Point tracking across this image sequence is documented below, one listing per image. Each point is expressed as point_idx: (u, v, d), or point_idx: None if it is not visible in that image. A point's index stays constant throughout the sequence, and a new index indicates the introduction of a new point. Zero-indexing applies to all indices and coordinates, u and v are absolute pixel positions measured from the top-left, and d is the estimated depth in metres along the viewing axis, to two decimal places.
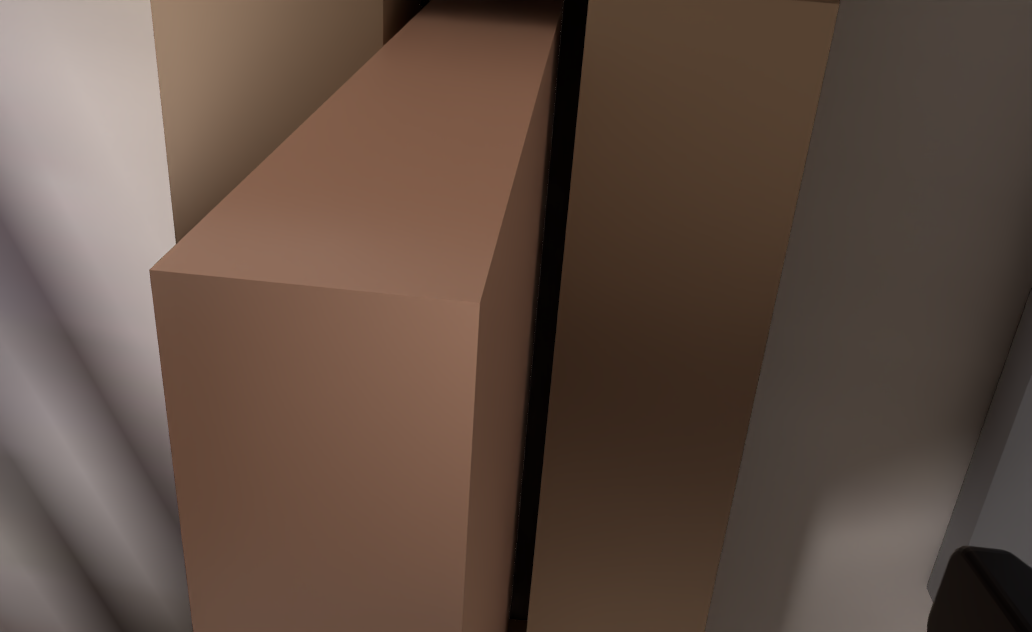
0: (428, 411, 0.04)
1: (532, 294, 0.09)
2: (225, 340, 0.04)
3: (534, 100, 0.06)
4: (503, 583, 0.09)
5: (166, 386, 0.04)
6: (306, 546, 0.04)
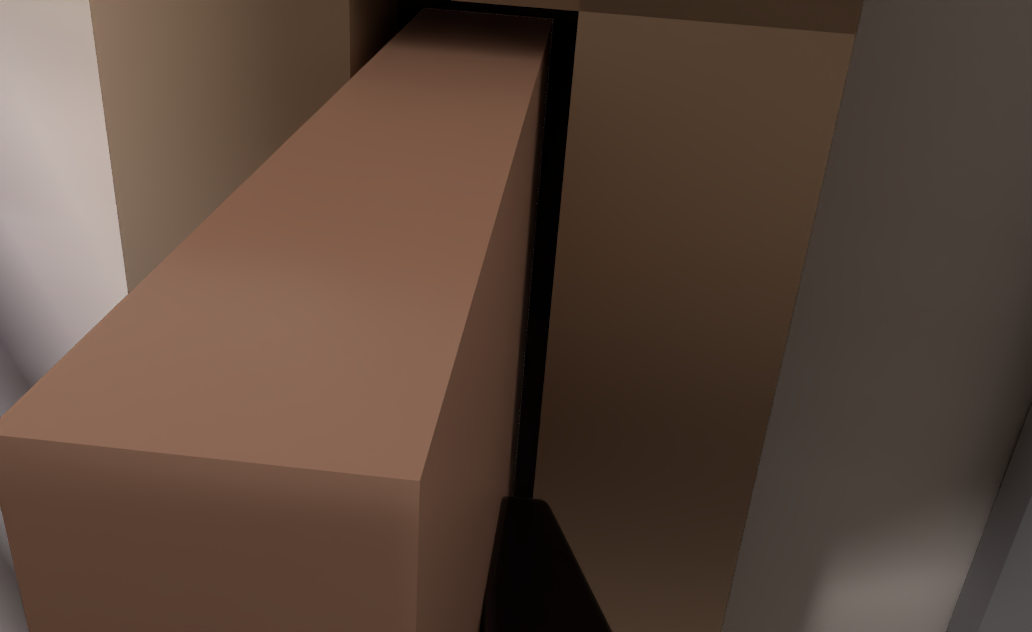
0: (357, 608, 0.03)
1: (517, 349, 0.08)
2: (90, 519, 0.03)
3: (512, 156, 0.05)
4: None
5: (21, 568, 0.03)
6: None
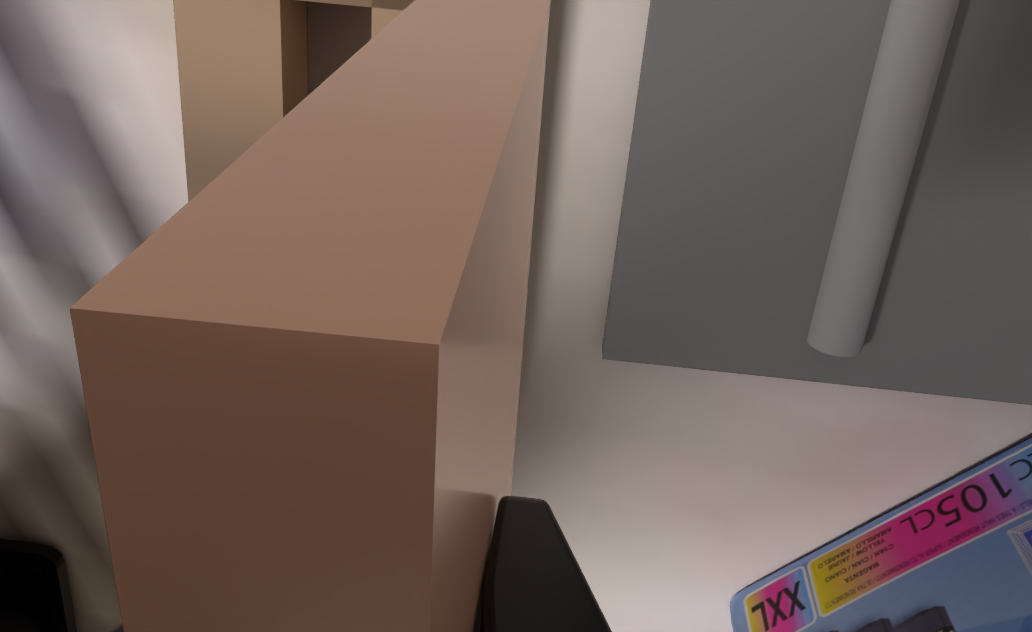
0: (383, 462, 0.03)
1: (517, 309, 0.09)
2: (157, 385, 0.03)
3: (513, 110, 0.06)
4: None
5: (95, 435, 0.03)
6: (254, 606, 0.04)
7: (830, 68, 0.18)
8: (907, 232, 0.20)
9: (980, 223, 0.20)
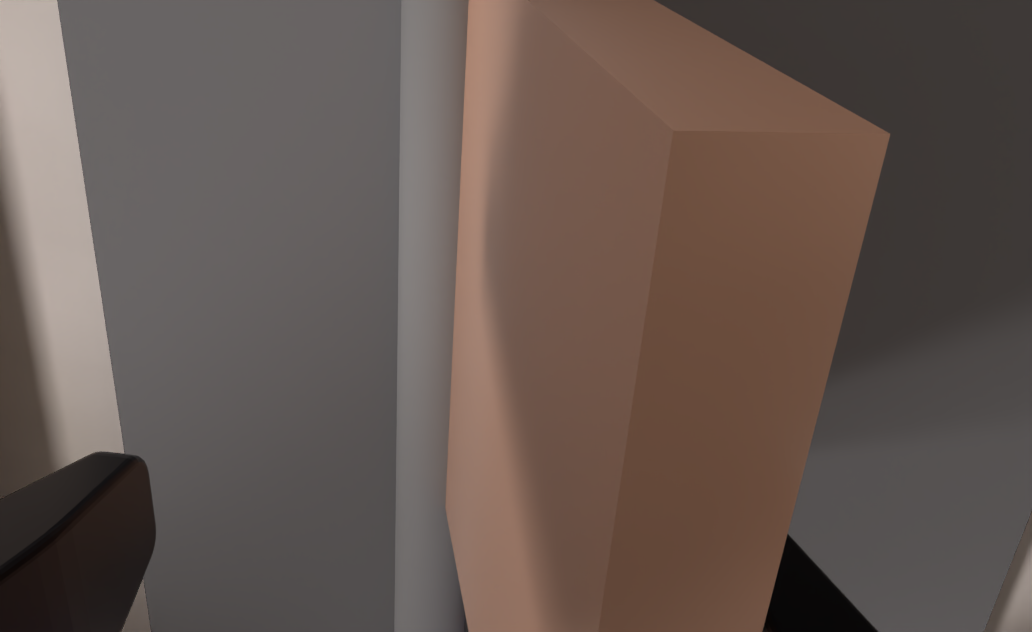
0: (840, 220, 0.05)
1: None
2: (714, 180, 0.05)
3: (697, 26, 0.07)
4: None
5: (655, 224, 0.05)
6: (730, 340, 0.05)
7: (342, 327, 0.14)
8: None
9: None
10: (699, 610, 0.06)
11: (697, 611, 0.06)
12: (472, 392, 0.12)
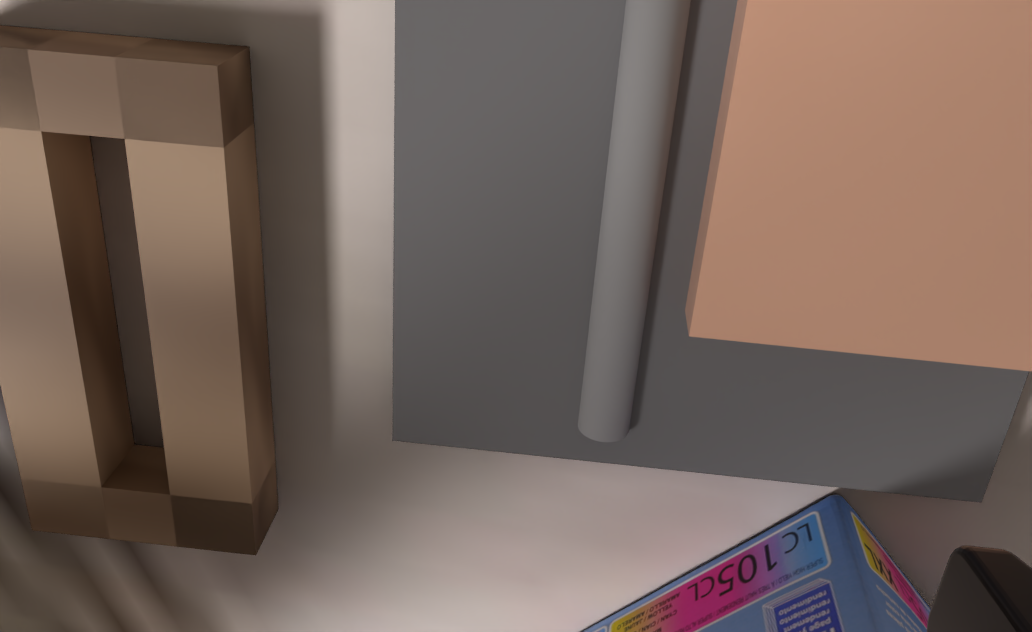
0: None
1: None
2: None
3: None
4: None
5: None
6: None
7: (565, 183, 0.20)
8: (657, 328, 0.21)
9: None
10: None
11: None
12: (806, 199, 0.18)
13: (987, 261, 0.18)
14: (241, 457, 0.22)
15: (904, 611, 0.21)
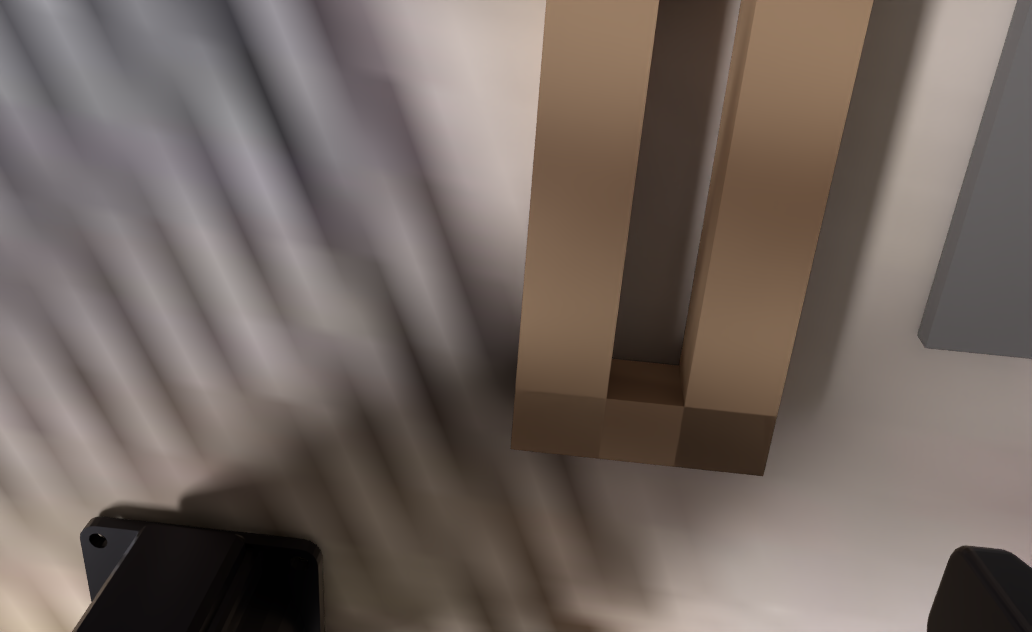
0: None
1: None
2: None
3: None
4: None
5: None
6: None
7: None
8: None
9: None
10: None
11: None
12: None
13: None
14: (781, 362, 0.20)
15: None
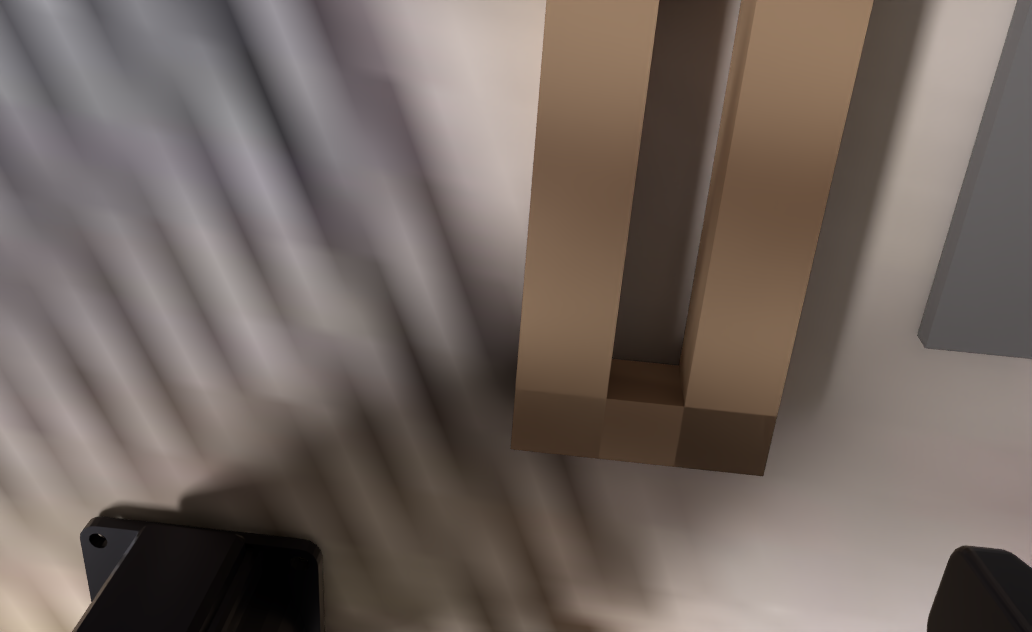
0: None
1: None
2: None
3: None
4: None
5: None
6: None
7: None
8: None
9: None
10: None
11: None
12: None
13: None
14: (781, 362, 0.20)
15: None
